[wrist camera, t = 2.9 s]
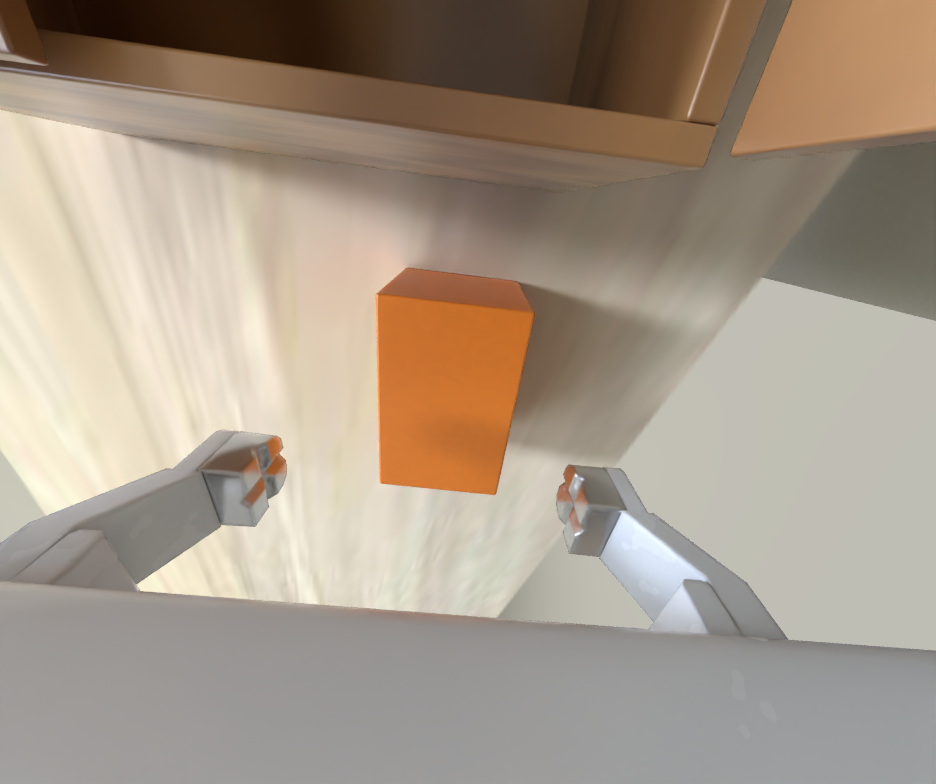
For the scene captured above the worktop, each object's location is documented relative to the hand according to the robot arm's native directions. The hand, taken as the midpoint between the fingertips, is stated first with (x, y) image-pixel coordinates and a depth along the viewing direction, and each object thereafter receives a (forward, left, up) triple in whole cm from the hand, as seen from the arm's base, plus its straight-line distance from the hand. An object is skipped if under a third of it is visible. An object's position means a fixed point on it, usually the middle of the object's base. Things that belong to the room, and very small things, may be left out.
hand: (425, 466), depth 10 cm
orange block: (0, 0, -8) cm, 8 cm away
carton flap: (-4, -14, +6) cm, 16 cm away
